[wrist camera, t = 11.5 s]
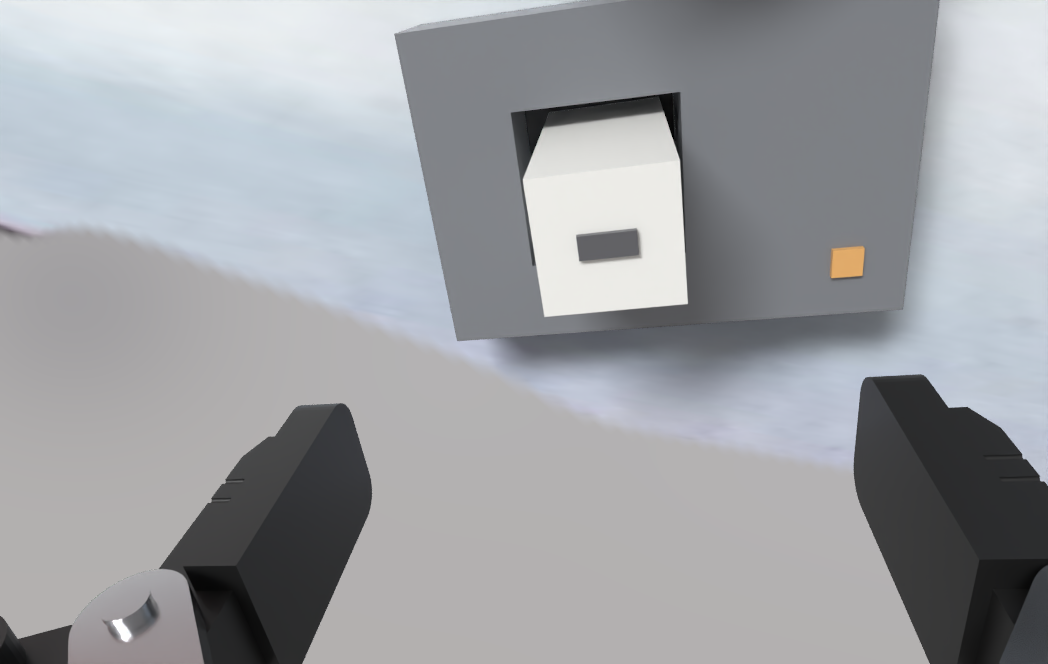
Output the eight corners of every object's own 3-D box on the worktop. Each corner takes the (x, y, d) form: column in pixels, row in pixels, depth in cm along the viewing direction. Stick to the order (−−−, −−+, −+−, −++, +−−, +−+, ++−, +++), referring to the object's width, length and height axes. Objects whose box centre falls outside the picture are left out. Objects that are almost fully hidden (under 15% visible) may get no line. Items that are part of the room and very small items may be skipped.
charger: (658, 96, 26) (680, 161, 17) (665, 203, 27) (688, 306, 19) (549, 112, 26) (522, 181, 18) (563, 214, 28) (543, 319, 20)
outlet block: (899, -46, 23) (948, -46, 19) (870, 270, 28) (904, 312, 24) (420, 24, 25) (392, 34, 22) (472, 302, 30) (456, 343, 27)
